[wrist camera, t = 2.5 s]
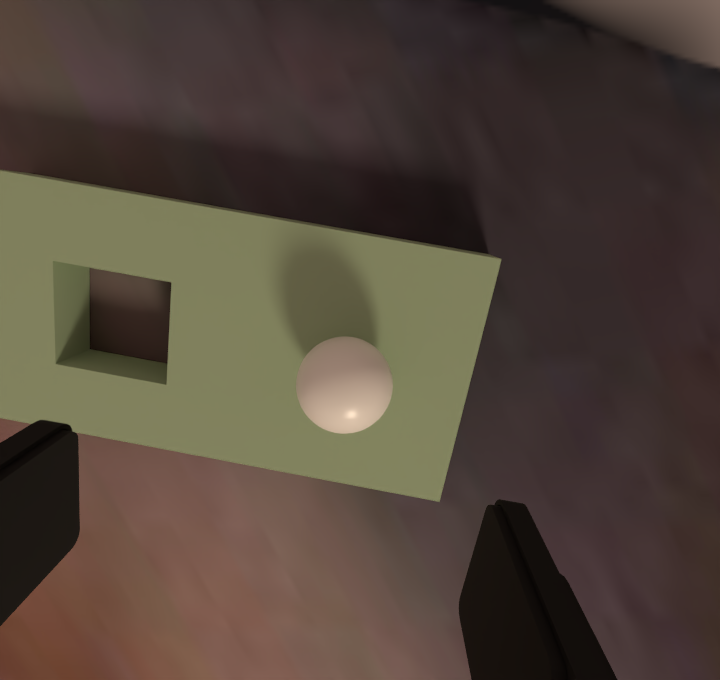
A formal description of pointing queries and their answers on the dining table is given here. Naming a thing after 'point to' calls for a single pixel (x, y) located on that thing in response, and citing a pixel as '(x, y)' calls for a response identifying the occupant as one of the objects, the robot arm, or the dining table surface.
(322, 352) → the ball
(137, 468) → the dining table surface
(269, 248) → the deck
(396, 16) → the dining table surface
